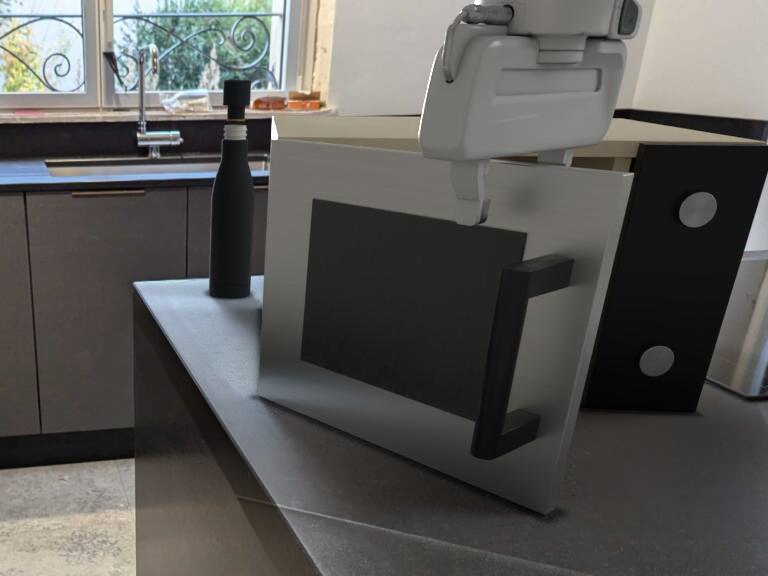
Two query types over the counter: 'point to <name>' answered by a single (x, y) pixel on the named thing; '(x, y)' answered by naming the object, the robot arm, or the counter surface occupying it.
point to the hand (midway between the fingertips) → (505, 217)
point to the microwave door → (438, 307)
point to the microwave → (636, 246)
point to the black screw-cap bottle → (232, 202)
